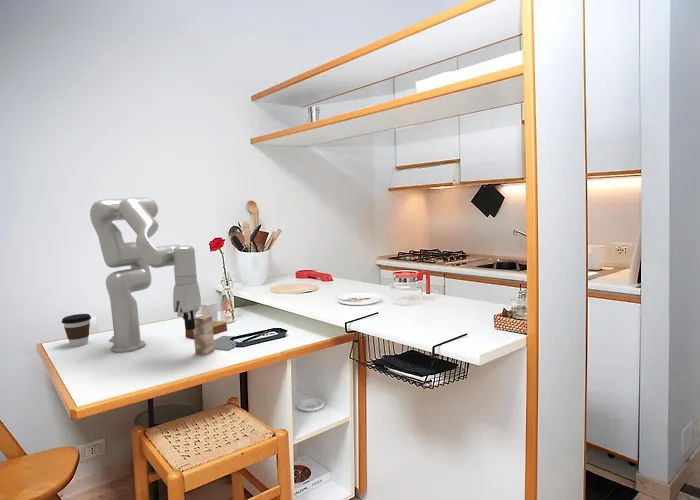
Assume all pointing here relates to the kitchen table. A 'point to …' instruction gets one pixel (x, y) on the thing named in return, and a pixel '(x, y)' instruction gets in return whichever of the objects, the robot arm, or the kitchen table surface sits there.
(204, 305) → the white cup
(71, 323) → the coffee cup
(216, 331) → the carton
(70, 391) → the kitchen table surface
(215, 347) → the rubber mat
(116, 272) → the robot arm
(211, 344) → the wood block
